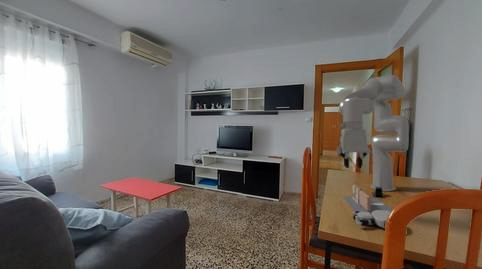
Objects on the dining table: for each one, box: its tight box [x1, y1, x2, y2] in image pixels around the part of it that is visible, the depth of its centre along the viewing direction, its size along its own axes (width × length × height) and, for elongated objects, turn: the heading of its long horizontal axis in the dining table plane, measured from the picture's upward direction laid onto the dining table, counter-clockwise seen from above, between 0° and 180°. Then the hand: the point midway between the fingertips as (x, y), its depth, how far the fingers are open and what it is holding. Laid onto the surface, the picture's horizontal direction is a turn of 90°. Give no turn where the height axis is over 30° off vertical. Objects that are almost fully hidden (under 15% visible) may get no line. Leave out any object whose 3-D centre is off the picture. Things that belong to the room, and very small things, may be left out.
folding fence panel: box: [359, 190, 371, 211], centre depth 93 cm, size 9×1×6 cm, turn 169°
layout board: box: [343, 196, 393, 214], centre depth 97 cm, size 19×16×1 cm
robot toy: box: [350, 210, 391, 229], centre depth 78 cm, size 12×4×15 cm
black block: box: [371, 187, 387, 200], centre depth 110 cm, size 12×7×5 cm, turn 151°
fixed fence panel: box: [352, 184, 363, 204], centre depth 102 cm, size 9×2×7 cm, turn 169°
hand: (353, 167), depth 91 cm, fingers open, 4 cm apart
